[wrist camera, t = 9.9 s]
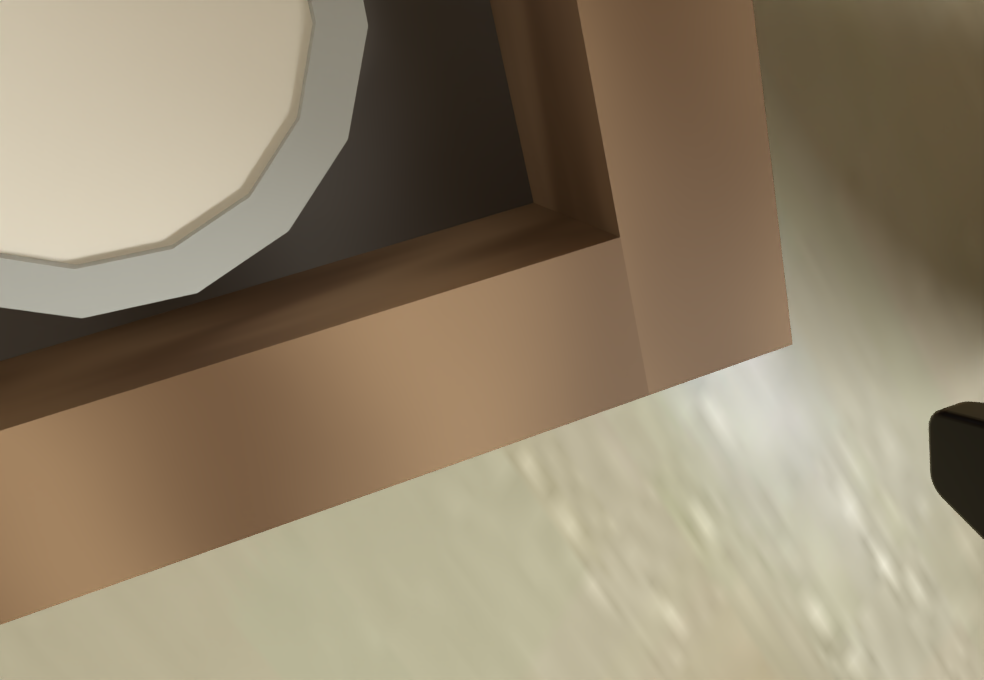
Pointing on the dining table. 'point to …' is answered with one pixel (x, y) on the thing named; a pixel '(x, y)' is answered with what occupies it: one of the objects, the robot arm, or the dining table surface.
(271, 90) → the cream and grey cup
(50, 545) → the well box
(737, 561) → the dining table surface
